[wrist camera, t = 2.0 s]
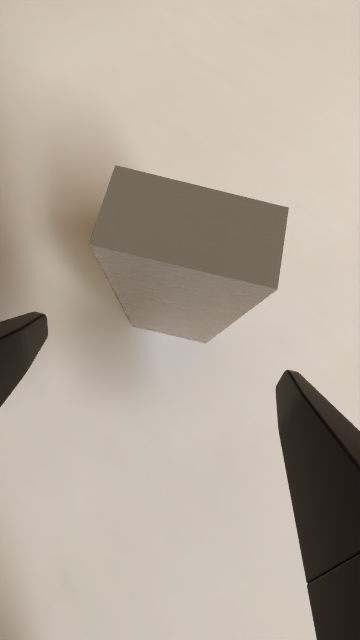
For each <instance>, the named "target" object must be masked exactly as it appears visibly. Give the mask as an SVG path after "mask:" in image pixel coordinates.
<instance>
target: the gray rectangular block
mask: <svg viewBox="0 0 360 640" xmlns="http://www.w3.org/2000/svg"><path fill="white" fill-rule="evenodd" d="M288 209H289V208H288V207H283V206H279V205H275V204H271V203H267V202H263V201H259V200H255V199H251V198H247V197H243V196H239V195H234V194H230V193H226V192H222V191H218V190H214V189H210V188H206V187H202V186H198V185H194V184H190V183H185V182H181V181H177V180H173V179H169V178H165V177H161V176H157V175H153V174H149V173H145V172H141V171H136V170H132V169H128V168H124V167H120V166H116V165H115V168H114V171H113V174H112V177H111V180H110V183H109V186H108V189H107V192H106V195H105V198H104V201H103V204H102V207H101V210H100V213H99V216H98V219H97V222H96V225H95V228H94V231H93V234H92V237H91V240H90V243H89V246H90V248H91V250H92V251H93V253H94V255H95V257H96V259H97V261H98V263H99V264H100V266H101V268H102V270H103V272H104V274H105V276H106V277H107V279H108V281H109V283H110V285H111V287H112V289H113V290H114V292H115V294H116V296H117V298H118V300H119V302H120V303H121V305H122V307H123V309H124V311H125V313H126V315H127V316H128V318H129V320H130V322H131V324H132V326H134V327H138V328H142V329H147V330H151V331H155V332H160V333H164V334H168V335H173V336H177V337H181V338H186V339H190V340H195V341H199V342H203V343H207V342H208V341H209V340H211V339H212V338H213V337H215V336H216V335H217V334H219V333H220V332H221V331H223V330H224V329H225V328H227V327H228V326H229V325H231V324H232V323H233V322H235V321H236V320H237V319H239V318H240V317H241V316H243V315H244V314H245V313H247V312H248V311H249V310H251V309H252V308H253V307H255V306H256V305H257V304H259V303H260V302H261V301H263V300H264V299H265V298H266V297H268V296H269V295H270V294H272V293H273V292H274V291H276V290H277V288H278V281H279V274H280V267H281V260H282V252H283V245H284V238H285V231H286V223H287V216H288Z"/></svg>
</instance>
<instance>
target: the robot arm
mask: <svg viewBox="0 0 360 640" xmlns="http://www.w3.org/2000/svg"><path fill="white" fill-rule="evenodd" d="M47 336H48V326H47V317H46V315H45V314H43V313H38V312H31V313H27V314H24V315H21V316H18V317H14V318H11V319H8V320H5V321H1V322H0V407H1V406H2V404H3V403H4V402H5V400H6V399H7V398H8V396H9V395H10V394H11V392H12V391H13V390H14V388H15V387H16V386H17V384H18V383H19V382H20V380H21V379H22V378H23V376H24V375H25V374H26V372H27V371H28V369H29V367H30V366H31V364H32V362H33V361H34V359H35V357H36V356H37V354H38V352H39V351H40V349H41V347H42V345H43V344H44V342H45V340H46V339H47ZM276 403H277V417H278V429H279V435H280V440H281V446H282V451H283V457H284V462H285V468H286V473H287V479H288V484H289V489H290V495H291V500H292V506H293V511H294V517H295V522H296V527H297V533H298V538H299V544H300V549H301V555H302V560H303V566H304V571H305V576H306V582H307V583H308V584H307V588H308V594H309V599H310V605H311V610H312V616H313V621H314V626H315V632H316V637H317V640H360V431H359V430H358V429H357V428H356V427H355V426H354V425H353V424H352V423H351V422H350V421H349V420H348V419H346V418H345V417H344V416H343V415H342V414H341V413H340V412H339V411H338V410H337V409H336V408H335V407H334V406H333V405H332V404H331V403H330V402H329V401H328V400H327V399H326V398H325V397H324V396H322V395H321V394H320V393H319V392H318V391H317V390H316V389H315V388H314V387H313V386H312V385H311V384H310V383H309V382H308V381H307V380H306V379H305V378H304V377H303V376H302V375H301V374H299V373H298V372H296V371H292V370H286V371H285V372H284V373H283V375H282V377H281V378H280V380H279V382H278V383H277V386H276Z"/></svg>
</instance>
